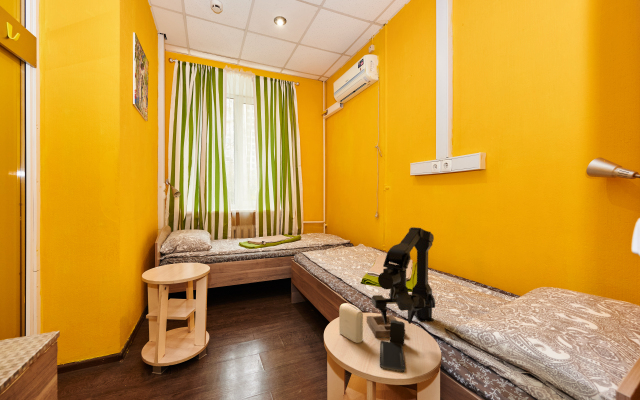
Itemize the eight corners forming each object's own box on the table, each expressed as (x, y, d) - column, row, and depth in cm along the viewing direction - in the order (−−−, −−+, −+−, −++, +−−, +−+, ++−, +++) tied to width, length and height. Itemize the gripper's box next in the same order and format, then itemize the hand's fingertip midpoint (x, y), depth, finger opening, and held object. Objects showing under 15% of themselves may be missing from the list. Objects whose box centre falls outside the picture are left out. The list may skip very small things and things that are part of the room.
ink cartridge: (404, 343, 94) (405, 322, 94) (403, 346, 92) (404, 324, 92) (390, 340, 96) (391, 319, 96) (389, 343, 94) (390, 321, 94)
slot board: (393, 321, 111) (393, 315, 111) (405, 336, 99) (405, 330, 99) (366, 321, 110) (366, 316, 110) (375, 337, 98) (375, 331, 98)
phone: (379, 366, 80) (380, 340, 94) (379, 369, 80) (380, 343, 94) (405, 370, 78) (402, 343, 92) (405, 374, 78) (402, 346, 92)
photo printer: (337, 333, 101) (337, 302, 101) (345, 329, 103) (345, 299, 103) (356, 344, 93) (357, 311, 93) (364, 340, 95) (364, 308, 95)
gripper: (381, 290, 85) (380, 336, 85) (433, 289, 87) (433, 334, 87) (371, 280, 96) (370, 320, 96) (418, 279, 98) (417, 319, 98)
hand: (397, 323), depth 94 cm, fingers open, 9 cm apart
